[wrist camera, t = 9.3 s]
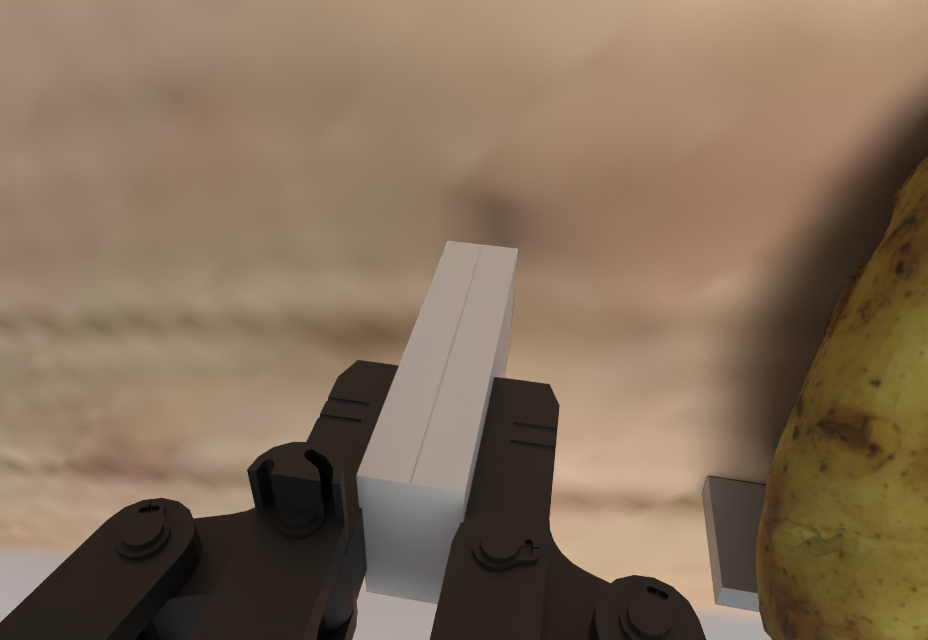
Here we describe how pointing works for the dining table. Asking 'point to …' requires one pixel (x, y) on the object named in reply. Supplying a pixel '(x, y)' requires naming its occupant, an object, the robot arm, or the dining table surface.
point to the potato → (858, 457)
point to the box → (733, 539)
